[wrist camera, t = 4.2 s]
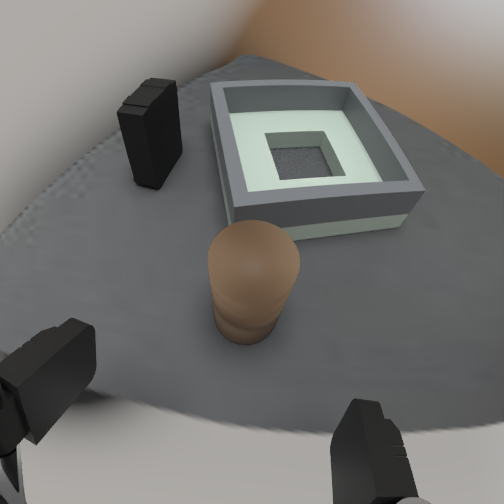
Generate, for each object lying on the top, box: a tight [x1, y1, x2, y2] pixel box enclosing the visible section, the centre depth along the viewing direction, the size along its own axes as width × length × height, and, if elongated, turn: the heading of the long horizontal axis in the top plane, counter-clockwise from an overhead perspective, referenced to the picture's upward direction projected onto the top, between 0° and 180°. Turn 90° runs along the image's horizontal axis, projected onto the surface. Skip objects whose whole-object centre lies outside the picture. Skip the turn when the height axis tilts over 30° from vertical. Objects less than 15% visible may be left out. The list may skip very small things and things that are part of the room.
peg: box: [208, 220, 300, 345], centre depth 18 cm, size 4×4×8 cm
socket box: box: [210, 80, 425, 241], centre depth 25 cm, size 14×14×5 cm
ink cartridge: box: [117, 78, 182, 188], centre depth 23 cm, size 5×2×8 cm, turn 163°
